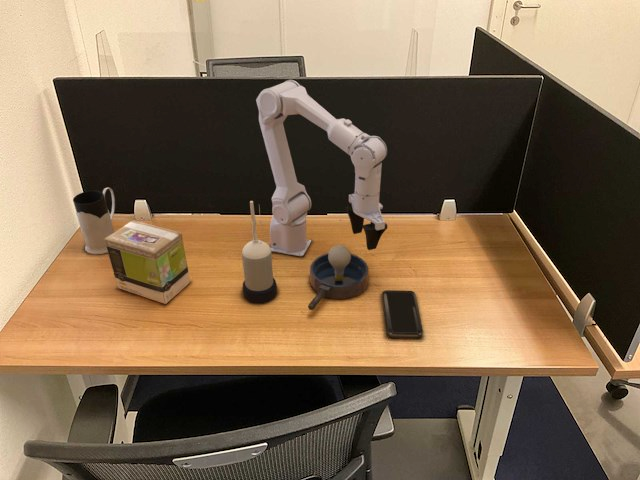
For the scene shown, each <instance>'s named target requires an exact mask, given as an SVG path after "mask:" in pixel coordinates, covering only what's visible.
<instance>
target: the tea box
mask: <svg viewBox="0 0 640 480" xmlns="http://www.w3.org/2000/svg"><path fill="white" fill-rule="evenodd" d="M105 243H106V247H107V250H108V252H107V254H108V257H109V261H110V264H111V269H112V272H113V275H114V279H115V283H116V285H117V289H120V290H123V291H125V292H128V293H132V294H134V295H137V296H141V297H143V298H147V299H150V300H153V301H155V302H158V303H160V304H164V305H167V304H168V302H170V301H172V299H173V298H175V297H176V296H177V295H178V294H179V293H180V292H181V291H182V290H183V289H185V287H187V286H188V285H189V284H190V283H191V279H190V272H189V267H188V262H187V261H188V260H187V256H186V250H185V244H184V239H183V234H182V232H180V231H177V230H173V229H169V228H165V227H161V226H157V225H155V224H154V225H153V224H150V223H146V222H143V221H142V222H141V221H138V220H134V219H133V220H131V221H129V222H128V223H126V224H125V225H123V226H122V227H120V228H119V229H117V230H115V231H114V233H113V234H111V235H109V236H108V237H106V238H105Z"/></svg>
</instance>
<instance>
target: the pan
mask: <svg viewBox="0 0 640 480" xmlns="http://www.w3.org/2000/svg"><path fill="white" fill-rule="evenodd" d="M328 254H329V252H327V253H323V254H321V255H319V256H318V257H316V258H315V259H314V260H313V261H312V262H311V264H310V266H309V278H310V279H309V283H310V285H311V288H312V289H313V290H314V291H315V292H316V293H317V294H318V293H319V287H320V286H321V285H322V284H323V285H325V286H328V287H331V293H330V294H329V295H325V296H324V297H326V298H330V299H334V300H335V299H337V300H342V299H343V300H344V299H345V300H346V299H349V298H353V297H356V296H359V295H360V294H362V293H363V292H364V291H365V290H366V289H367V286H368V283H369V266H368V263H367V261H365V260H364V259H363V258H362V257H360V256H358V255H356V254H353V253H351V252H350V254H351V260H350V262H349V264H348V265H347V266H346V268H345V269H344V274H343V280H342V281H336V280H335V270H334V268H333V266H332V265H331V264H330V262H329V259H328Z"/></svg>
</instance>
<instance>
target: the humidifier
mask: <svg viewBox="0 0 640 480" xmlns="http://www.w3.org/2000/svg"><path fill="white" fill-rule="evenodd" d="M249 207H250V209H249V210H250V218H251V222H252V223H251V234H252V235H251V236H252V240H250V241H248V242H247V243H246V244H245V245H244V247H243V248H242V250H241V257H242V267H243V276H244V278H243V279H244V280H243V282H242V296H243V298H244V300H246V301H247V303H248V302H249V303H251V304H254V305H255V304H256V305H262V304H266V303H269V302H272V301H273V300H274V299H275V298H276V297H277V295H278V287H277V286H278V285H277V282H276V279H275V278H274V271H273V256H272V251H271V246H270V245H269V244H268V243H267V242H265V241H263V240H262V239H259V238H258V235H257V219H256V215H255V206H254V201H253V200H250V201H249ZM258 211H259V213H258V214H261V208H260V205H258ZM259 224H260V226H261V228H260V235H261V237H260V238H263V224H262V222H261V221H259Z"/></svg>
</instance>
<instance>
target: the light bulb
mask: <svg viewBox="0 0 640 480" xmlns="http://www.w3.org/2000/svg"><path fill="white" fill-rule="evenodd" d="M328 253H329V254H328V259H329V262H330V264H331V265H332V266H333V268H334V270H335V280H336V281H342V280H343V274H344V269H345V268H346V266H347V265H348V264H349V262H350V260H351V254H352V253H351V251H350V249H349V248H348V247H346V246H345V245H343V244H337V245H334V246H332V247H331V248H330V249H329V251H328ZM350 253H351V254H350Z"/></svg>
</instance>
